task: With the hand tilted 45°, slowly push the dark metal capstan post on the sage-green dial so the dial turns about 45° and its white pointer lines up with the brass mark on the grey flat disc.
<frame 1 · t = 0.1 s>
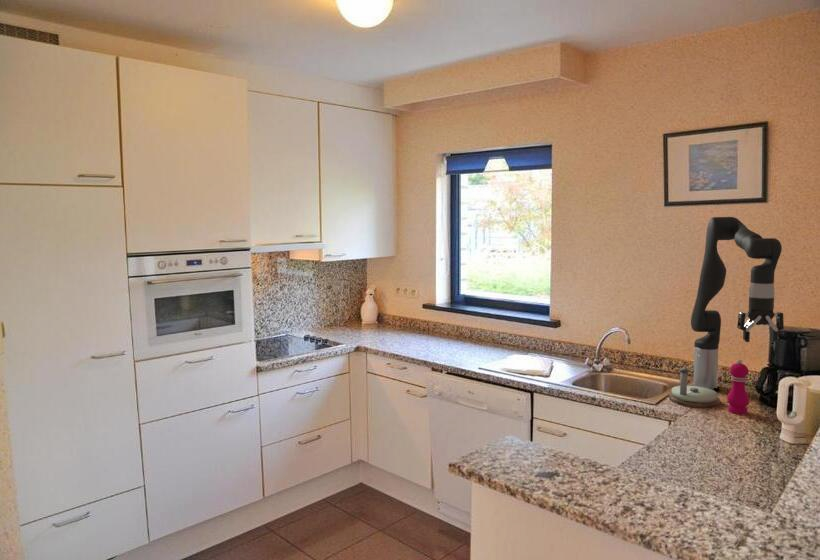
hand: (759, 341, 204), 29 cm above the worktop, tool pointing down, fingers open, 8 cm apart
pepper mill: (737, 412, 219), on the worktop
grey flat disc: (693, 400, 233), on the worktop
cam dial: (694, 381, 232), point 8 cm above the worktop, hinge at 0.0°
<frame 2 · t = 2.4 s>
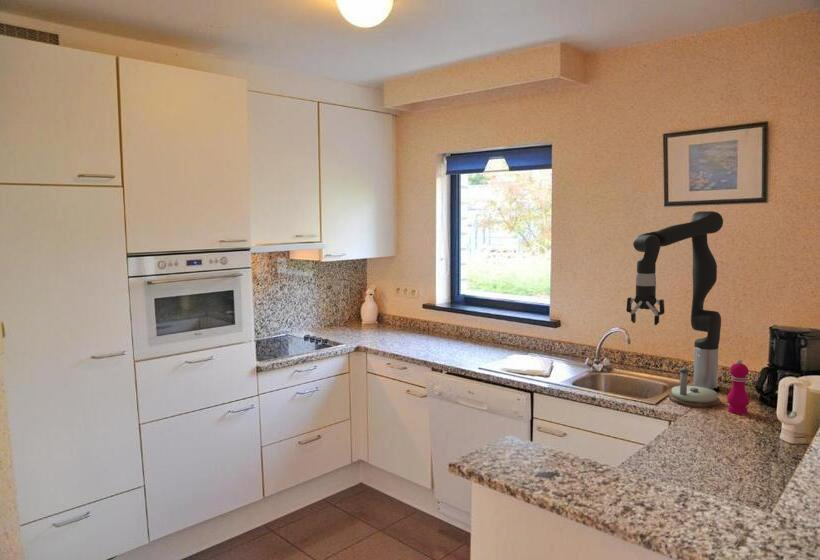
hand: (644, 323, 237), 30 cm above the worktop, tool pointing down, fingers open, 8 cm apart
nothing on the worktop moved.
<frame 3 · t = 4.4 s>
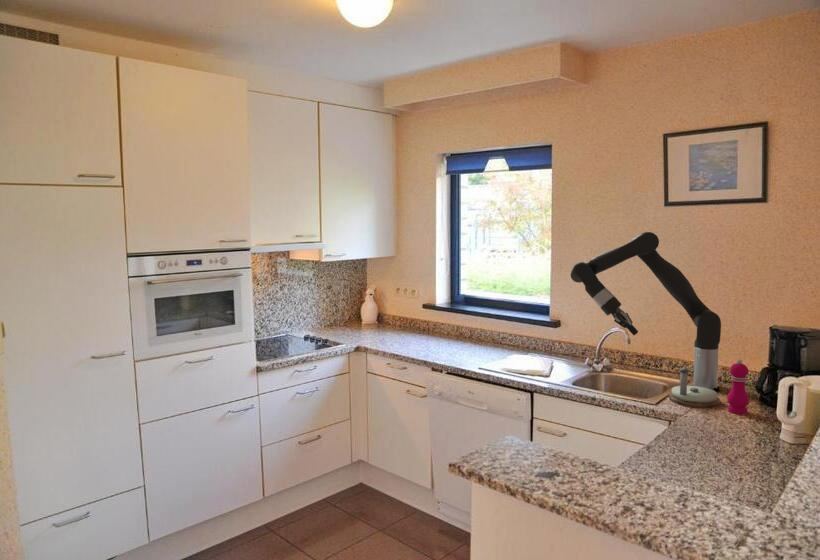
hand: (636, 333, 237), 26 cm above the worktop, tool tilted 45°, fingers closed
nothing on the worktop moved.
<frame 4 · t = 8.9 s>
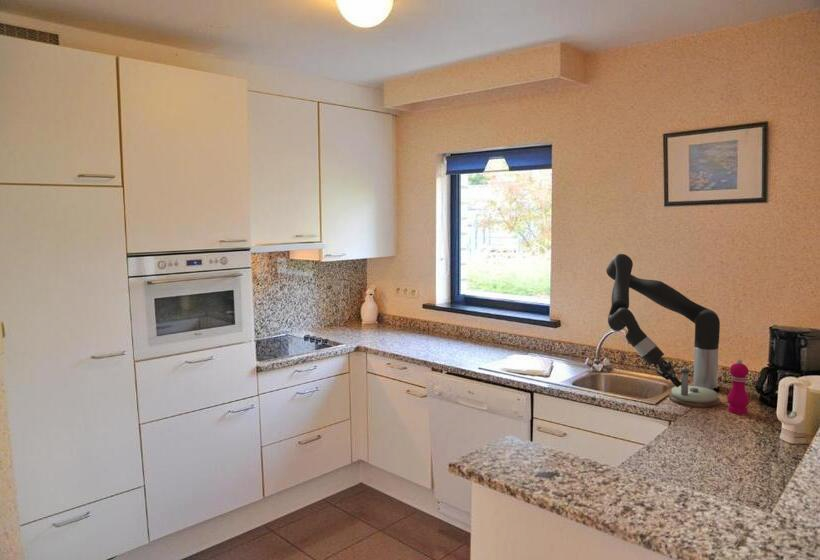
hand: (679, 385, 229), 7 cm above the worktop, tool tilted 45°, fingers closed
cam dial: (694, 381, 232), point 8 cm above the worktop, hinge at 4.2°, touching gripper
everything else where it was.
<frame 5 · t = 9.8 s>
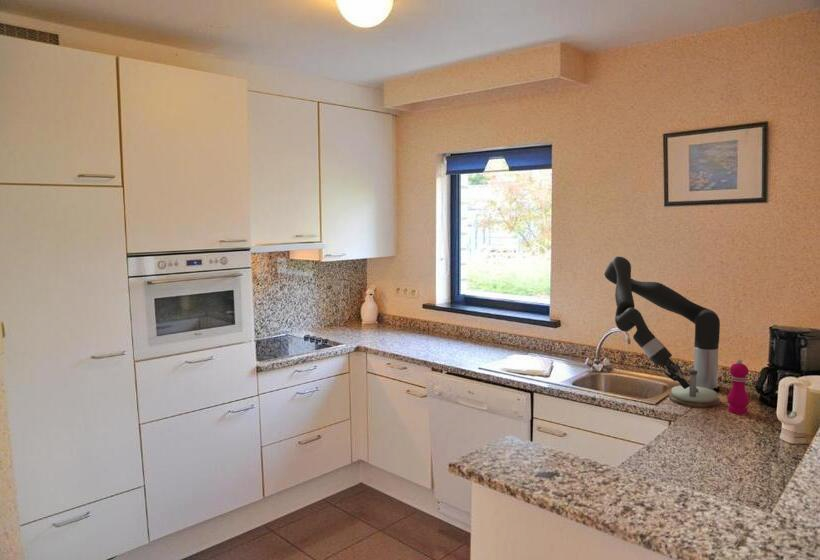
hand: (687, 387, 227), 7 cm above the worktop, tool tilted 45°, fingers closed
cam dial: (694, 381, 232), point 8 cm above the worktop, hinge at 29.1°, touching gripper
everything else where it was.
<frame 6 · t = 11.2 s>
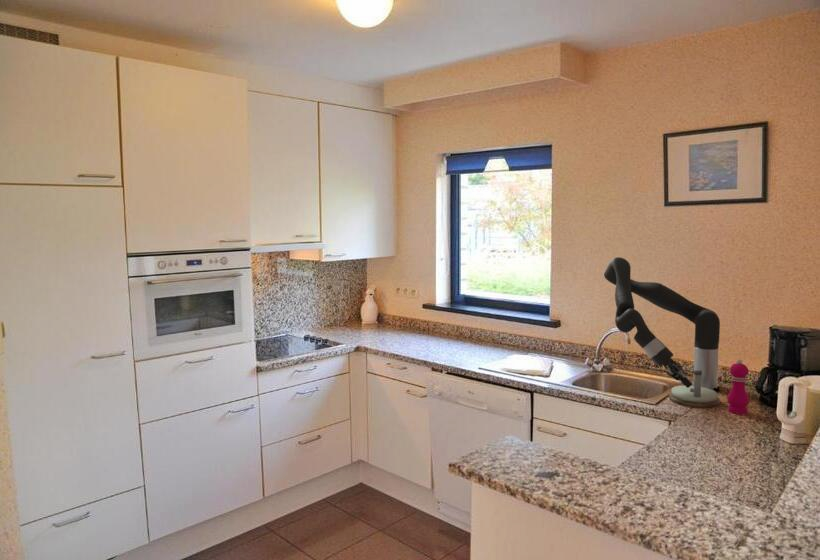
hand: (690, 386, 227), 7 cm above the worktop, tool tilted 45°, fingers closed
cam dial: (694, 381, 232), point 8 cm above the worktop, hinge at 41.8°
everything else where it was.
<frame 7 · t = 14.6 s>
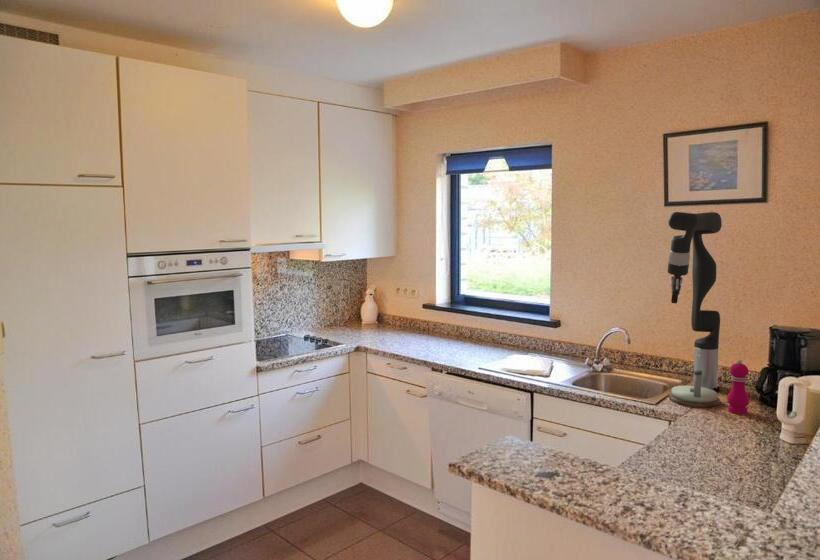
hand: (674, 302, 238), 38 cm above the worktop, tool pointing down, fingers closed
nothing on the worktop moved.
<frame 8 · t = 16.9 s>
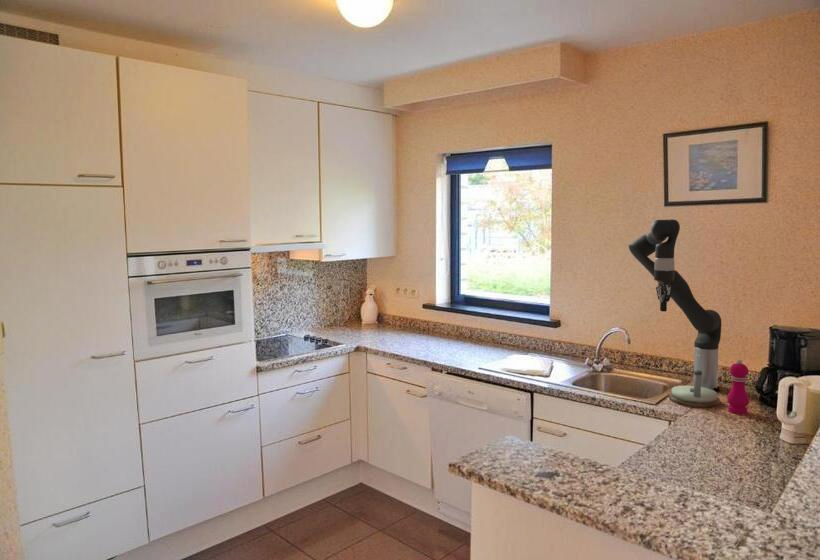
hand: (663, 311, 238), 35 cm above the worktop, tool pointing down, fingers closed
nothing on the worktop moved.
at the end: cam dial at +42° (first picture: +0°); pepper mill moved 0.2 cm from its start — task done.
